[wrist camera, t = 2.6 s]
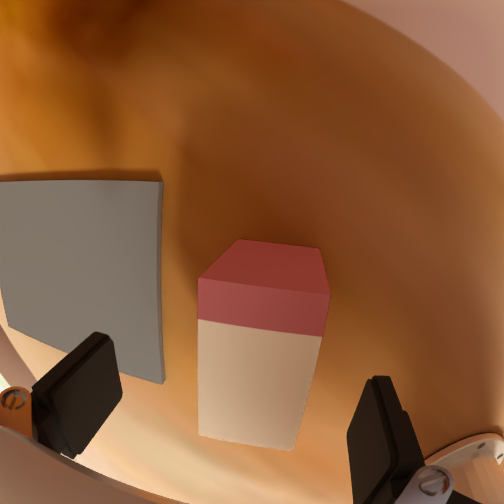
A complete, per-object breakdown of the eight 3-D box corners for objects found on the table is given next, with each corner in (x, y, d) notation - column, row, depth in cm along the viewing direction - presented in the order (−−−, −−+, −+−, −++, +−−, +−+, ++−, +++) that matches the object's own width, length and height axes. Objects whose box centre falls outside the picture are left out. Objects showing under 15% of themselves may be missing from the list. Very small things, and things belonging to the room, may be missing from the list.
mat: (165, 380, 21) (162, 384, 20) (12, 324, 23) (8, 326, 22) (163, 181, 17) (158, 182, 17) (-4, 182, 20) (-8, 182, 19)
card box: (298, 370, 19) (293, 451, 12) (229, 360, 19) (198, 435, 13) (319, 248, 17) (331, 295, 10) (238, 238, 17) (198, 277, 11)
